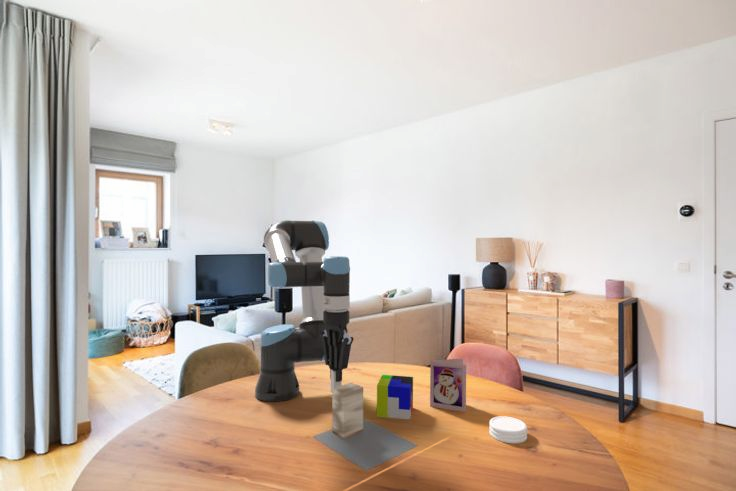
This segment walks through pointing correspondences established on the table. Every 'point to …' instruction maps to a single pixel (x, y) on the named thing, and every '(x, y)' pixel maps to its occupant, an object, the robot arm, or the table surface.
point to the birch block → (347, 410)
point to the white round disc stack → (508, 429)
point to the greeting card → (448, 384)
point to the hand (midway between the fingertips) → (336, 391)
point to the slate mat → (367, 445)
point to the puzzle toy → (395, 396)
